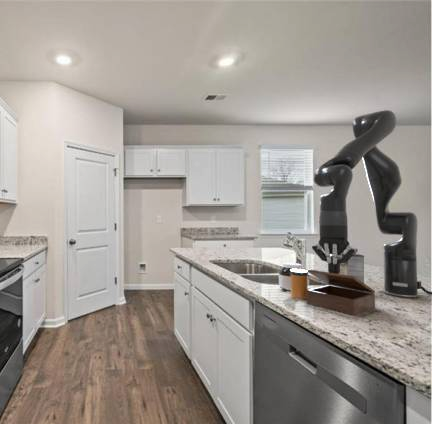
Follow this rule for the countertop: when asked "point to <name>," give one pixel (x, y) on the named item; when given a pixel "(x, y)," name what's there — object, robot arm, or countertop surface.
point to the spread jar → (288, 275)
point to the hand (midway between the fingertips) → (333, 274)
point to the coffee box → (353, 267)
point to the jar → (299, 283)
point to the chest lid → (341, 280)
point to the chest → (341, 299)
